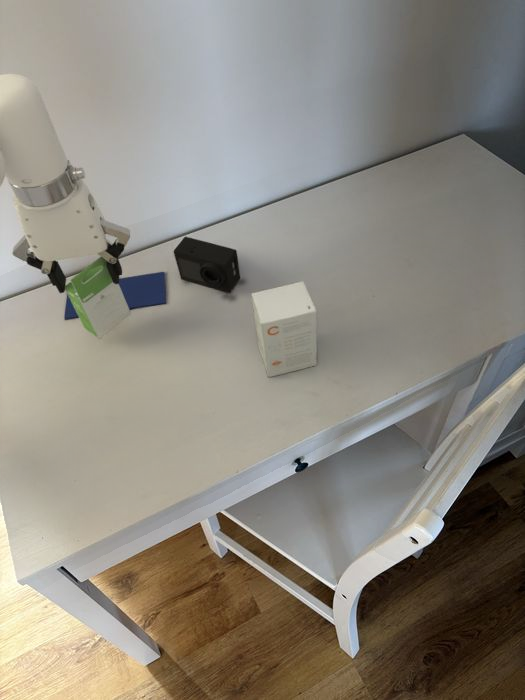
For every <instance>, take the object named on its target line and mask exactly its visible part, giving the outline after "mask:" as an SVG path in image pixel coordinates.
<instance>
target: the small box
mask: <svg viewBox="0 0 525 700" xmlns="http://www.w3.org/2000/svg"><path fill="white" fill-rule="evenodd" d="M251 302H252V308H253V315H254V323H255V331H256V337H257V344H258V350H259V352H260V355H261V359H262V363H263V365H264V368H265V371H266V372H265V373H266V374H267V375H266V376H267V377H268V378H272V377H277V376H279V375H285V374H288V373H291V372H297V371H300V370H304V369H307V368H311V367H316V366H317V355H318V354H317V349H318V348H317V308H316V307H315V304H314V302H313V301H312V298H311V296H310V293H309V291H308V289H307V286H306V284H305V282H304V281H303V280H302V281H298V282H294V283H290V284H285V285H281V286H277V287H273V288H269V289H265V290H261V291H255V292H252V293H251Z"/></svg>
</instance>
